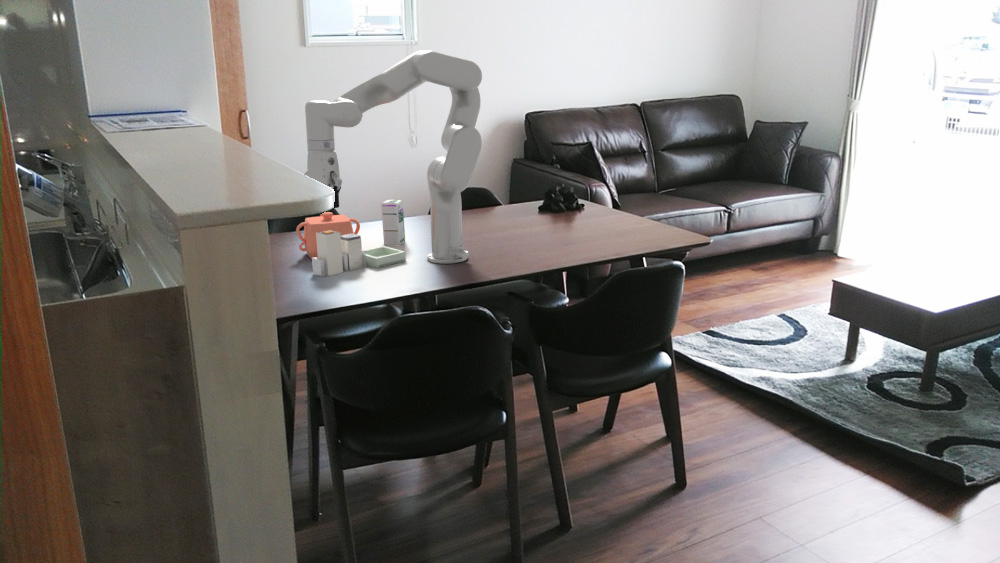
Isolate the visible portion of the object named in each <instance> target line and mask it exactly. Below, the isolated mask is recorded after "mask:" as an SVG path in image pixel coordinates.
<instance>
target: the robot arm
mask: <svg viewBox="0 0 1000 563" xmlns="http://www.w3.org/2000/svg"><path fill="white" fill-rule="evenodd" d="M482 80H483V73H482V69H481V68H480V66H479V65H478V64H477V63H476V62H473V61H471V60H468V59H463V58H459V57H457V56H451V55H447V54H445V53H440V52H436V51H433V50H419V51H415V52H413V53H412V54H409V55H408V56H407V57H405V58H403V59H402V60H400V61H399V62H397V63H395V64H394V65H392V66H391V67H389V68H387V69H385V70H384V71H383V72H381V73H379V74H377V75H374V76H373V77H371V78H370V79H368V80H366V81H365V82H363V83H360V84H359V85H357V86H355V87H353V88H352V89H349V91H346V92H345V93H343V94H342V95H340V96H339V97H337V98H336V99H335V100H333V101H332V102H330V101H328V100H309V101H307V102H306V103H305V106H304V111H305V112H304V113H305V128H306V129H305V130H306V145H307V146H306V147H307V162H306V163H307V164H306V165H307V168H306V169H307V171H306V172H304V176H305V175H307V176H309V177H310V178H313V179H315V180H317V181H319V182H321V183H323V184H325V185H327V186H329V187H331V188H332V189H334V191H335V202H334V208H333V209H339V207H340V196H339V195H340V192H341V189H342V184H343V179H341V176H340V168H339V167H340V166H339V160H338V154H337V151H336V147H335V146H336V145H335V144H336V143H335V127H337V128H338V127H339V128H346V129H347V128H348V129H349V128H354V127H357V125H359V124H360V123H361V122H362V120H363V114H364V113H366V112H367V111H369V110H372V109H373V108H375V107H378V106H381V105H386V104H390V103H392V102H394V101H397V100H399V99H401V98H403V97H404V96H405V95H407V94H408V93H410V92H411V91H413V90H414V89H417V88H418V87H419V86H421V85H423V84H425V83H426V82H427V83H428V82H429V83H431V84H436V85H438V86H443V87H447V88H449V90H450V93H451V105H450V110H449V112H448V116H447V119H446V121H445V124H444V127H443V131H442V134H441V138H440V143H441V145H442V148H443V149H444V150H445V151H446V152H447V153H446V155H445V156H438V157H436V158H434V159H433V160H432V161H431V162H430V163H429V165H428V168H427V171H426V172H427V173H426V177H427V184H428V192H429V204H430V234H431V239H430V240H431V252H430V253H428V254H427V256H426V258H427V260H428V262H430V263H434V264H442V265H443V264H447V265H449V264H456V263H458V264H459V263H460V262H464V261H466V260H468V258H469V256H470V251H468V250H465V245H463V220H462V219H463V217H462V209H463V207H462V195H461V194H462V192H463V191H465V190H466V189H467V188H468V186H469V185H470V183H471V180H472V178H473V175H474V173H475V169H476V166H477V163H478V160H479V157H480V153H481V151H482V146H483V145H482V143H483V142H482V136H481V134H480V131H479V130H478V129H477V128H476V124H477V121H478V117H479V113H480V109H481V94H480V90H479V86H480V85H481V83H482Z"/></svg>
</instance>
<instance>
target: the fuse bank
mask: <svg viewBox="0 0 1000 563" xmlns="http://www.w3.org/2000/svg"><path fill="white" fill-rule="evenodd" d="M353 233H354V232H353ZM353 233H350V234H345V235H340V237H341V252H342V266H343V272H348V271H349V272H350V271H354V270H357V269H363V268H365V267H367V265H366V251H365V250H366V249H363V248H362V247H363V246H362V238H361V235H359V234H357V235H356V234H353ZM311 264H312V275H314V276H316V277H320V278H323V277H326V275H325V269H324V260H323V259H320V258H317V257H313V258H312V259H311Z"/></svg>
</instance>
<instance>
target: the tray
mask: <svg viewBox="0 0 1000 563" xmlns="http://www.w3.org/2000/svg"><path fill="white" fill-rule="evenodd" d="M364 250H365V251H366V266H367V267H368V266H369V267H372V268H375V269H381V268H384V267H388V266H391V265H395V264H400V263H404V262H407V258H406V256H407V255H406V254H407V253H406V251H403V250H402V249H397V248H393V247H389V246H387V245H381V246H380V245H379V246H376V247H371V248H368V249H364Z"/></svg>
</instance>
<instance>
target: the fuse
mask: <svg viewBox="0 0 1000 563" xmlns="http://www.w3.org/2000/svg"><path fill="white" fill-rule="evenodd" d="M316 241H317V253H318V258H320V259H323V260H324V269H325V276H327V277H330V276H334V275H338V274H342V273H343V272H344V271H343V266H342V252H341V237H340V233H339V232H335V231H332V230H328V231H323V232H319V233H316Z"/></svg>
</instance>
